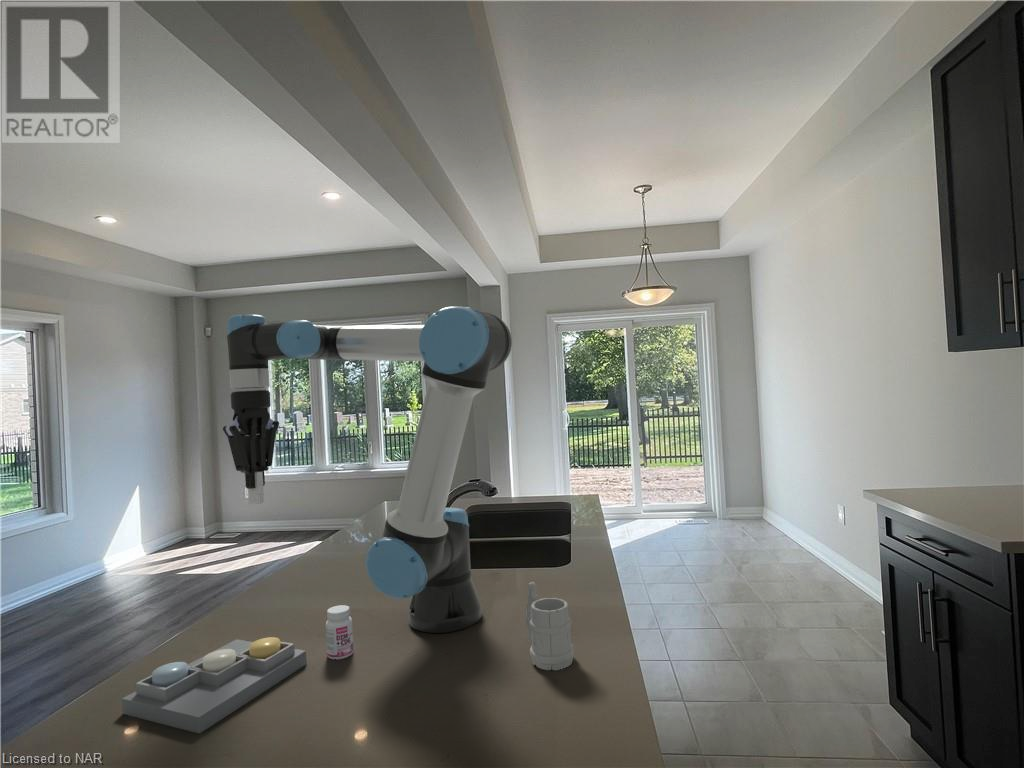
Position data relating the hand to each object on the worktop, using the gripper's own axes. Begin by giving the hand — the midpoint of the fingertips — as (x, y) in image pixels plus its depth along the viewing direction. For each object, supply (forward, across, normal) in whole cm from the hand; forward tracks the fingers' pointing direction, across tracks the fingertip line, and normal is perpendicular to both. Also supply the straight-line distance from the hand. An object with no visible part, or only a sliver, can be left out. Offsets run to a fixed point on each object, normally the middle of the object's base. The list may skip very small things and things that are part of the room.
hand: (256, 503), depth 123 cm
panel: (+26, +21, +11) cm, 35 cm away
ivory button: (+24, +21, +11) cm, 33 cm away
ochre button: (+24, +15, +15) cm, 32 cm away
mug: (+27, -5, +61) cm, 66 cm away
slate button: (+24, +27, +7) cm, 36 cm away
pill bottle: (+27, +5, +24) cm, 36 cm away
